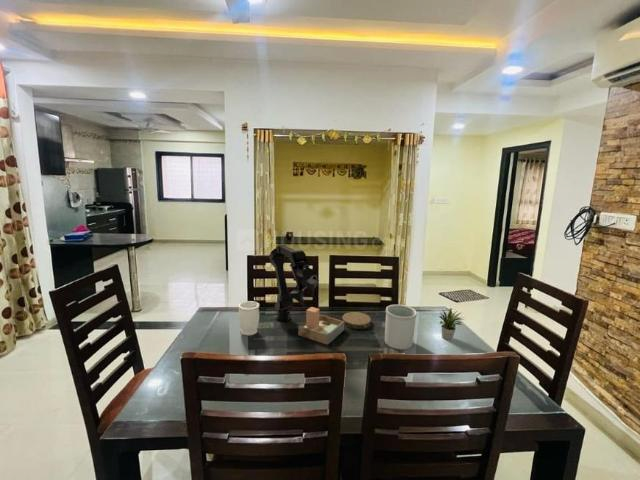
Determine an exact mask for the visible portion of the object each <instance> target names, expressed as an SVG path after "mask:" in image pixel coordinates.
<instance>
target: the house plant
mask: <svg viewBox="0 0 640 480" xmlns="http://www.w3.org/2000/svg"><path fill="white" fill-rule="evenodd" d="M448 309H449V310H448V314H447V313H446V311H445V310H444V309H442V311H440V312H439V315H438V318H440V319H441V320H440V321H439V325H440V324H441V338H442V339H443V340H445V341H452V340H453V338H454V336H455V332H456V328H457V327H456V325H461V326H462V321H465V316H464V317H463V316H462V317H461V316H459V315H461V314H462V312H459V313H457V312H458V310H455V312H454V313H453V311H452V309H453V308H448ZM456 313H457V314H456ZM460 320H462V321H460Z"/></svg>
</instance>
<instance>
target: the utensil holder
mask: <svg viewBox="0 0 640 480" xmlns="http://www.w3.org/2000/svg"><path fill="white" fill-rule="evenodd" d="M417 314H418V312H417V310H416V309H415V308H413V307H411V306H408V305H404V304H390V305H388V306H386V308H385V322H384V323H385V325H384V327H385V328H384V342H385V344H386V345H387V346H388V347H390V348H393V349H396V350H409V349H411V347H413V341H414V335H415V327H416V319H417V316H418V315H417Z"/></svg>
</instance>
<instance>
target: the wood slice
mask: <svg viewBox="0 0 640 480" xmlns="http://www.w3.org/2000/svg"><path fill="white" fill-rule="evenodd" d="M341 318H342V320H341V321H344V327H348V328H350V329H355V330H362V329H367V328H369V327H370V326H371V322H372V319H371V316H370V315H368V314H366V313H364V312H359V311H351V312H346V313H344V314H342V317H341Z"/></svg>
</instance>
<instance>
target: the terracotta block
mask: <svg viewBox="0 0 640 480" xmlns="http://www.w3.org/2000/svg"><path fill="white" fill-rule="evenodd" d="M320 311H321V310H320V308H316V307H313V306H311V307H309V308H308V309H306V313H305V314H306V315H305V318H306V319H305V326H308V327H311V328H315V327H317V326H318V325H319V314H320Z"/></svg>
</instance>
